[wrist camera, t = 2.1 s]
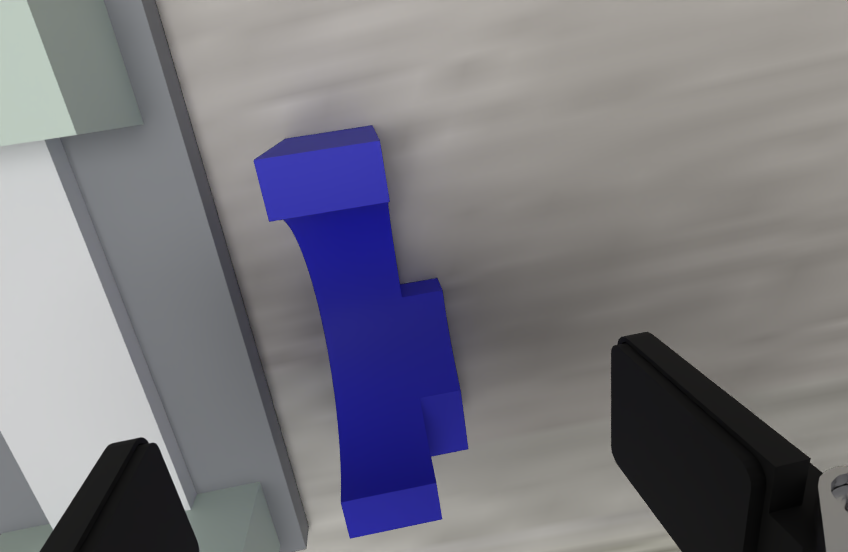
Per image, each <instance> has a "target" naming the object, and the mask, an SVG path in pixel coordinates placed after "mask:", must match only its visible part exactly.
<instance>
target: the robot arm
mask: <svg viewBox="0 0 848 552" xmlns="http://www.w3.org/2000/svg"><path fill="white" fill-rule="evenodd" d="M611 448H612V453H613V456H614V459H615V461H616V463H617V465H618V466H619V467H620V469H621V470H622V471H623V473H624V474H625V476H626V477H627V478H628V480H629V481H630V482H631V484H632V485H633V486H634V488H635V489H636V490H637V492H638V493H639V494H640V496H641V497H642V498H643V500H644V501H645V502H646V504H647V505H648V507H649V508H650V509H651V511H652V512H653V513H654V515H655V516H656V517H657V519H658V520H659V521H660V523H661V524H662V525H663V527H664V528H665V529H666V531H667V532H668V533H669V535H670V536H671V537H672V539H673V540H674V542H675V543H676V544H677V546H678V547H679V548H680V550H681V551H682V552H848V466H837V467H834V468H831V469H828V470H826V471H825V472H824V473H822V472H821V471H819V470H818V469H817V468H816V467H814V466H813V465H812V464H811V463H810V458H809V457H808V456H807V455H805V454H804V453H803V452H801V451H800V450H799V449H798V448H796V447H795V446H794V445H793V444H791V443H790V442H789V441H787V440H786V439H785V438H784V437H782V436H781V435H780V434H779V433H777V432H776V431H775V430H773V429H772V428H771V427H770V426H768V425H767V424H766V423H765V422H763V421H762V420H761V419H759V418H758V417H757V416H756V415H754V414H753V413H752V412H751V411H749V410H748V409H747V408H745V407H744V406H743V405H742V404H740V403H739V402H738V401H736V400H735V399H734V398H733V397H731V396H730V395H729V394H728V393H726V392H725V391H724V390H722V389H721V388H720V387H719V386H717V385H716V384H715V383H714V382H712V381H711V380H710V379H708V378H707V377H706V376H705V375H703V374H702V373H701V372H700V371H698V370H697V369H696V368H694V367H693V366H692V365H691V364H689V363H688V362H687V361H686V360H684V359H683V358H682V357H680V356H679V355H678V354H677V353H675V352H674V351H673V350H672V349H670V348H669V347H668V346H666V345H665V344H664V343H663V342H661V341H660V340H659V339H658V338H656V337H655V336H654V335H652V334H651V333H649V332H643V333H638V334H634V335H629V336H624V337H621V338H620V339H619V341H618V345H615V346H613V347H612V351H611ZM40 552H199V545H198V541H197V539H196V536H195V534H194V531H193V529H192V527H191V524H190V522H189V519H188V517H187V514H186V512H185V510H184V507H183V505H182V502H181V500H180V497H179V495H178V493H177V490H176V488H175V485H174V483H173V480H172V478H171V475H170V473H169V471H168V468H167V466H166V463H165V461H164V458H163V456H162V454H161V451H160V449H159V447H158V445H157V444H156V443H149V442H148V441H147V440H146V439H145V438H143V437H140V438H135V439H130V440H125V441H120V442H116V443H112V444H109V445H108V446H107V447H106V448H105V450H104V451H103V453H102V455H101V456H100V458H99V459H98V461H97V462H96V464H95V466H94V467H93V469H92V470H91V472H90V473H89V475H88V476H87V478H86V480H85V481H84V483H83V484H82V486H81V487H80V489H79V491H78V492H77V494H76V495H75V497H74V498H73V500H72V501H71V503H70V505H69V506H68V508H67V509H66V511H65V512H64V514H63V516H62V517H61V519H60V520H59V522H58V523H57V525H56V526H55V528H54V530H53V531H52V533H51V534H50V536H49V537H48V539H47V541H46V542H45V544H44V545H43V547H42V548H41V550H40Z"/></svg>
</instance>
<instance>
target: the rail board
mask: <svg viewBox="0 0 848 552" xmlns="http://www.w3.org/2000/svg"><path fill="white" fill-rule="evenodd" d="M140 437H143V438H145V439H146V440H147V441H148V442H149V443H156V444H157V445H158V447H159V449H160V451H161V454H162V456H163V458H164V461H165V463H166V466H167V468H168V471H169V473H170V475H171V478H172V480H173V483H174V485H175V488H176V490H177V493H178V495H179V497H180V500H181V502H182V505H183V507H184V510H185V512H186V514H187V517H188V519H189V522H190V524H191V527H192V529H193V531H194V534H195V536H196V539H197V541H198V545H199V552H295V551H299V550H304V549H306V547H307V538H308V528H309V526H308V523H307V520H306V516H305V513H304V509H303V506H302V502H301V499H300V496H299V492H298V489H297V485H296V482H295V478H294V475H293V472H292V468H291V465H290V461H289V458H288V454H287V451H286V448H285V444H284V441H283V437H282V434H281V430H280V427H279V424H278V420H277V417H276V413H275V410H274V407H273V403H272V400H271V396H270V393H269V389H268V386H267V383H266V379H265V376H264V372H263V369H262V365H261V362H260V359H259V355H258V352H257V348H256V345H255V341H254V338H253V335H252V331H251V328H250V324H249V321H248V318H247V314H246V311H245V307H244V304H243V300H242V297H241V294H240V290H239V287H238V283H237V280H236V276H235V273H234V270H233V266H232V263H231V259H230V256H229V252H228V249H227V246H226V242H225V239H224V235H223V232H222V229H221V225H220V222H219V218H218V215H217V211H216V208H215V205H214V201H213V198H212V194H211V191H210V187H209V184H208V181H207V177H206V174H205V170H204V167H203V163H202V160H201V157H200V153H199V150H198V146H197V143H196V139H195V136H194V133H193V129H192V126H191V122H190V119H189V116H188V112H187V109H186V105H185V102H184V98H183V95H182V92H181V88H180V85H179V81H178V78H177V74H176V71H175V68H174V64H173V61H172V57H171V54H170V50H169V47H168V44H167V40H166V37H165V33H164V30H163V27H162V23H161V20H160V16H159V13H158V9H157V6H156V3H155V0H0V552H40V550H41V548H42V547H43V545H44V544H45V542H46V541H47V539H48V537H49V536H50V534H51V533H52V531H53V530H54V528H55V526H56V525H57V523H58V522H59V520H60V519H61V517H62V516H63V514H64V512H65V511H66V509H67V508H68V506H69V505H70V503H71V501H72V500H73V498H74V497H75V495H76V494H77V492H78V491H79V489H80V487H81V486H82V484H83V483H84V481H85V480H86V478H87V476H88V475H89V473H90V472H91V470H92V469H93V467H94V466H95V464H96V462H97V461H98V459H99V458H100V456H101V455H102V453H103V451H104V450H105V448H106V447H107V446H108V445H109V444H112V443H116V442H120V441H125V440H130V439H135V438H140Z"/></svg>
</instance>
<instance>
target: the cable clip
mask: <svg viewBox="0 0 848 552" xmlns="http://www.w3.org/2000/svg"><path fill="white" fill-rule="evenodd" d="M254 164H255V168H256V172H257V176H258V180H259V184H260V188H261V192H262V196H263V199H264V203H265V207H266V211H267V215H268V219H269V222H270V221H276V220H282V219H283V220H284V221H285V222H286V223H287V224H288V226H289V227H290V229H291V230H292V232H293V234H294V235H295V237H296V240H297V242H298V244H299V246H300V249H301V251H302V254H303V256H304V259H305V262H306V265H307V268H308V271H309V274H310V277H311V280H312V284H313V287H314V291H315V295H316V299H317V303H318V306H319V311H320V315H321V319H322V324H323V329H324V334H325V339H326V344H327V349H328V355H329V361H330V367H331V373H332V380H333V387H334V394H335V402H336V411H337V420H338V431H339V444H340V462H341V505H342V509H343V513H344V517H345V521H346V525H347V529H348V533H349V536H350V538H355V537H360V536H364V535H369V534H374V533H379V532H384V531H388V530H393V529H398V528H403V527H407V526H412V525H417V524H422V523H426V522H431V521H436V520H441V519H442V515H441V509H440V503H439V497H438V491H437V485H436V479H435V474H434V469H433V464H432V459H431V456H436V455H441V454H446V453H451V452H456V451H461V450H466V449H468V443H467V435H466V427H465V420H464V412H463V405H462V397H461V390H460V385H459V381H458V376H457V371H456V366H455V361H454V356H453V351H452V346H451V340H450V335H449V329H448V323H447V317H446V311H445V304H444V298H443V291H442V288H441V286H440V283H439V281H438V279H437V278H434V279H429V280H423V281H417V282H412V283H406V284H400V282H399V276H398V270H397V264H396V257H395V251H394V244H393V238H392V231H391V224H390V216H389V208H388V202H390V200H389V194H388V188H387V182H386V176H385V170H384V164H383V157H382V151H381V145H380V140H379V138H378V136H377V134H376V132H375V130H374V128H373V126H372V125H371V126H365V127H358V128H352V129H345V130H339V131H332V132H326V133H319V134H313V135H306V136H300V137H293V138H287V139H284V140H283V141H281V142H280V143H278V144H277V145H275V146H274V147H272V148H271V149H269V150H268V151H266V152H265V153H263V154H262V155H260V156H259V157H257V158H256V159H254Z"/></svg>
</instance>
